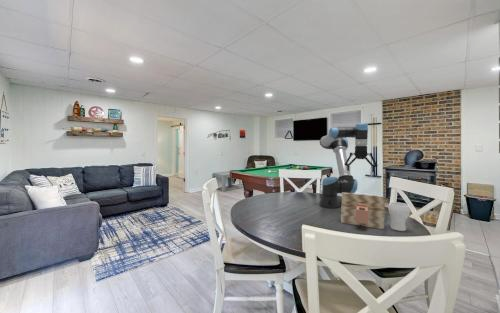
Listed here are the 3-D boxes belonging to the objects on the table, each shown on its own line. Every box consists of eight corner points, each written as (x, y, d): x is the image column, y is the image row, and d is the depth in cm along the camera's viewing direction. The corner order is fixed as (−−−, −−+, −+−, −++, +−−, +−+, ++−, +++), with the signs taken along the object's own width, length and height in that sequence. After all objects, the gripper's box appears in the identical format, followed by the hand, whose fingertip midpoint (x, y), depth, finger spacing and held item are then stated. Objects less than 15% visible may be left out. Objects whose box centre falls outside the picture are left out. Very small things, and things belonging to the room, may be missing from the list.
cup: (400, 224, 135) (401, 201, 134) (413, 232, 124) (414, 206, 123) (383, 225, 135) (384, 201, 134) (395, 232, 124) (396, 207, 123)
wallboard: (340, 222, 140) (341, 193, 138) (341, 220, 144) (342, 192, 143) (383, 229, 128) (385, 198, 127) (383, 226, 133) (384, 196, 131)
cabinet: (356, 222, 129) (356, 207, 128) (356, 216, 138) (356, 202, 137) (367, 224, 126) (367, 209, 125) (367, 217, 135) (367, 203, 134)
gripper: (341, 145, 150) (340, 175, 152) (382, 145, 138) (381, 178, 140) (342, 145, 157) (341, 174, 158) (381, 145, 145) (380, 176, 147)
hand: (360, 176), depth 149 cm, fingers open, 13 cm apart
